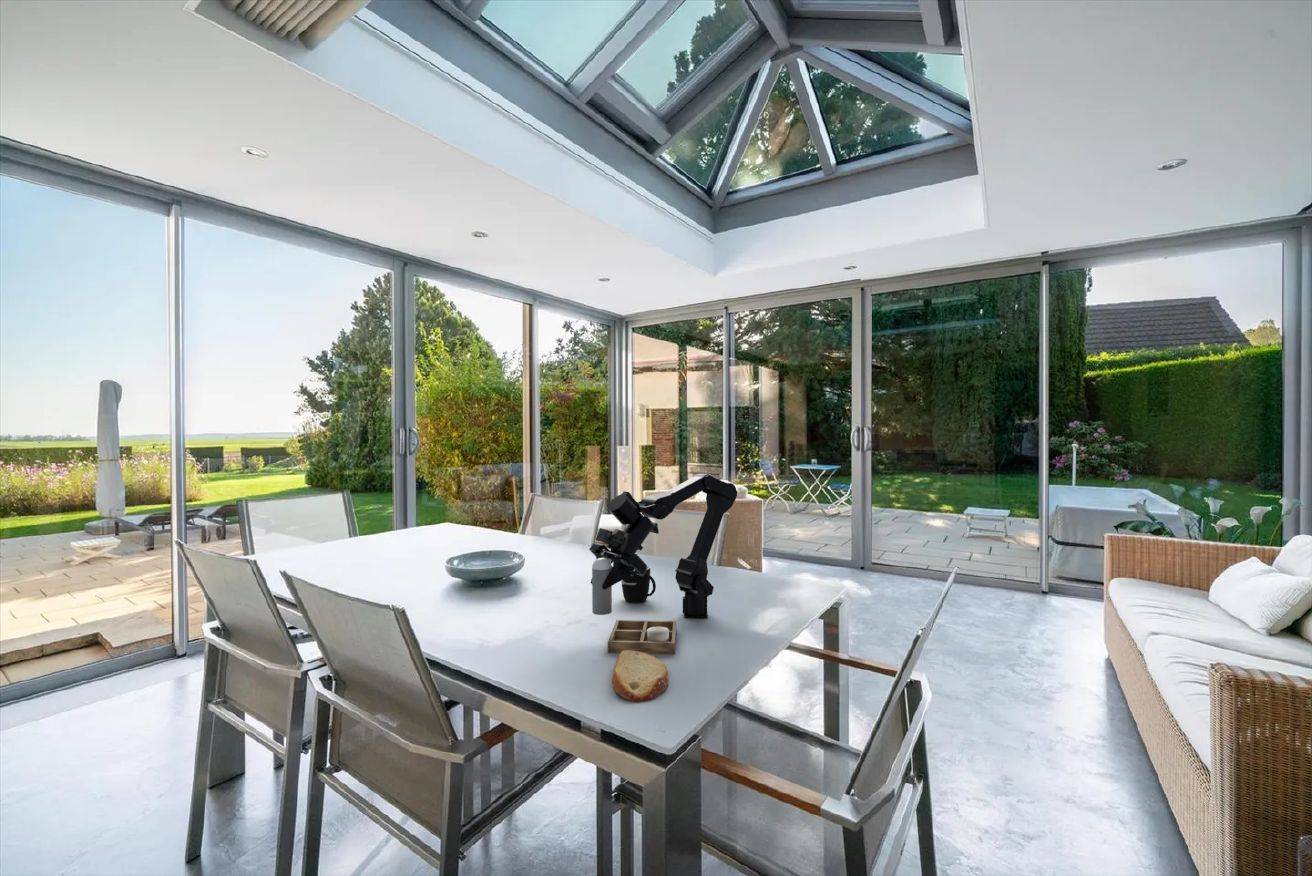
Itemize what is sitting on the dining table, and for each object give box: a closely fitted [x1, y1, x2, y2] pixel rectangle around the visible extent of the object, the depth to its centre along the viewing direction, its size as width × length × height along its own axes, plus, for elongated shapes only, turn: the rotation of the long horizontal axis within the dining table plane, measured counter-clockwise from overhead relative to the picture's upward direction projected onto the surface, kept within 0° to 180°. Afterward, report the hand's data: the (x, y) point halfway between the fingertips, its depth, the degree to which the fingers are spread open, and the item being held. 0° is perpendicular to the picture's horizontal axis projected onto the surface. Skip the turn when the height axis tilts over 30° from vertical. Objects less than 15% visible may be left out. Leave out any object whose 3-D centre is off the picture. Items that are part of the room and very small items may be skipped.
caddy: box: [607, 619, 677, 655], centre depth 139 cm, size 16×16×4 cm
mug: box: [620, 564, 657, 604], centre depth 173 cm, size 12×9×10 cm
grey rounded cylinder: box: [591, 558, 613, 616], centre depth 140 cm, size 5×5×13 cm
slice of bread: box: [611, 650, 669, 704], centre depth 118 cm, size 18×18×4 cm
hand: (597, 586), depth 140 cm, fingers closed on grey rounded cylinder, 5 cm apart
